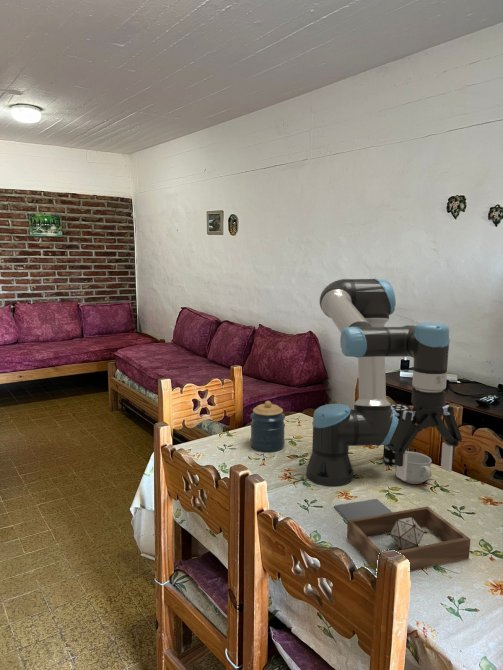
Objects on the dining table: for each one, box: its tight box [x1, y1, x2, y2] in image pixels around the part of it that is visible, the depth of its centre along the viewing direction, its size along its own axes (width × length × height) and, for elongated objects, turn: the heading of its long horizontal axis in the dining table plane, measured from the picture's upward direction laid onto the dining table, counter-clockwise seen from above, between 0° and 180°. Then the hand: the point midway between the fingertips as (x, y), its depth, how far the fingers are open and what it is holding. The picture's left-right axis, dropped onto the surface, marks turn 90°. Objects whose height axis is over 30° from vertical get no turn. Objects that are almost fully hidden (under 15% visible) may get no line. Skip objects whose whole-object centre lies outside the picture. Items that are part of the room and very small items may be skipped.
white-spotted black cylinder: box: [382, 403, 412, 468], centre depth 170 cm, size 8×8×20 cm
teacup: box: [395, 451, 432, 485], centre depth 156 cm, size 14×11×8 cm
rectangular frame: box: [346, 506, 471, 572], centre depth 121 cm, size 16×24×5 cm, turn 107°
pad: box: [333, 498, 394, 523], centre depth 137 cm, size 12×14×1 cm
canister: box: [250, 400, 286, 453], centre depth 184 cm, size 13×13×18 cm
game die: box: [386, 514, 429, 550], centre depth 120 cm, size 9×8×10 cm
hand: (424, 473), depth 119 cm, fingers open, 13 cm apart
